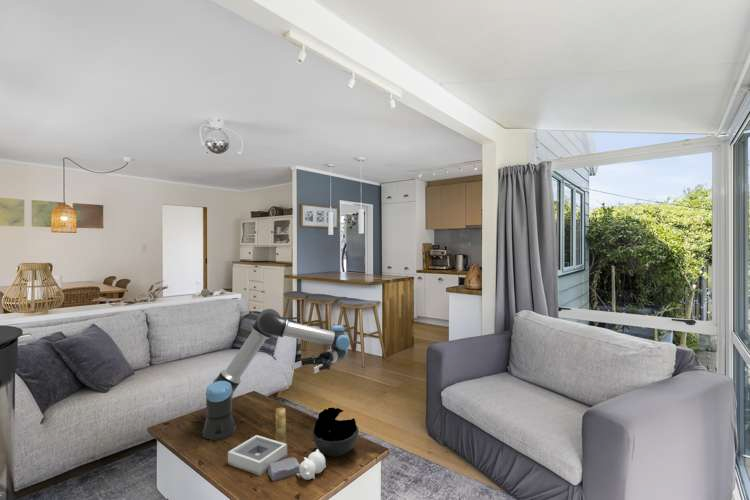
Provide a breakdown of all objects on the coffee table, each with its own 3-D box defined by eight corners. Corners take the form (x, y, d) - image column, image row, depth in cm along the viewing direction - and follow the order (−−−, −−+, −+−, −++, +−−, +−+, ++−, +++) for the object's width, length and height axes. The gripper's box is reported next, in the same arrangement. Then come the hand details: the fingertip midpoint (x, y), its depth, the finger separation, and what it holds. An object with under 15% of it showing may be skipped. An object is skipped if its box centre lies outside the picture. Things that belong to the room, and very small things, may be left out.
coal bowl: (336, 437, 175) (335, 397, 175) (368, 451, 162) (367, 408, 163) (303, 455, 160) (302, 412, 160) (335, 472, 147) (335, 425, 147)
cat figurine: (303, 459, 140) (323, 444, 150) (286, 467, 145) (307, 452, 155) (313, 482, 138) (333, 465, 148) (296, 490, 142) (316, 472, 153)
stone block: (266, 475, 149) (272, 483, 141) (265, 462, 150) (271, 469, 142) (294, 467, 155) (302, 474, 147) (294, 455, 156) (301, 461, 148)
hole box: (228, 463, 154) (227, 451, 154) (256, 445, 168) (256, 434, 168) (259, 475, 146) (259, 462, 146) (287, 455, 160) (287, 444, 160)
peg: (273, 445, 168) (273, 410, 168) (280, 441, 172) (280, 406, 172) (281, 447, 166) (280, 412, 166) (287, 443, 170) (287, 408, 170)
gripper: (347, 367, 197) (323, 379, 178) (309, 361, 209) (284, 372, 190) (347, 353, 197) (323, 364, 178) (309, 348, 209) (284, 358, 190)
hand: (303, 368), depth 184 cm, fingers open, 13 cm apart
